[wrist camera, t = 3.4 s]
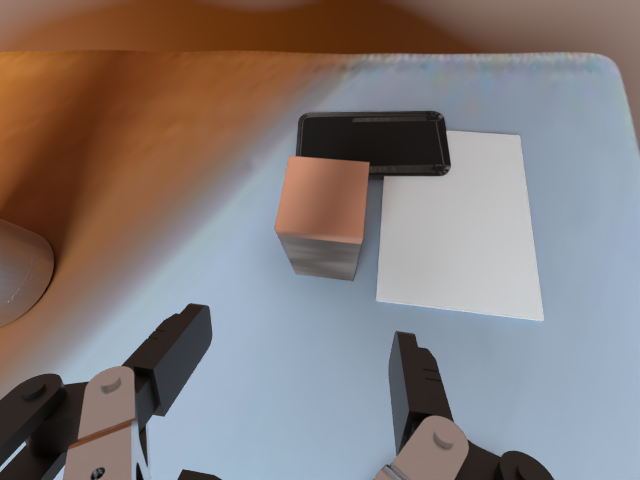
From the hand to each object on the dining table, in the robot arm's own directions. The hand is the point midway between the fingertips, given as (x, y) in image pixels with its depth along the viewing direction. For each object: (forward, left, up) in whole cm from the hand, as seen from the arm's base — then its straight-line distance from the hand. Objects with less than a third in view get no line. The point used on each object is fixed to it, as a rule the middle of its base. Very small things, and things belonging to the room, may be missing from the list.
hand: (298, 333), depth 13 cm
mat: (+11, +13, -12) cm, 21 cm away
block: (0, +8, -12) cm, 15 cm away
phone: (+3, +20, -13) cm, 24 cm away
